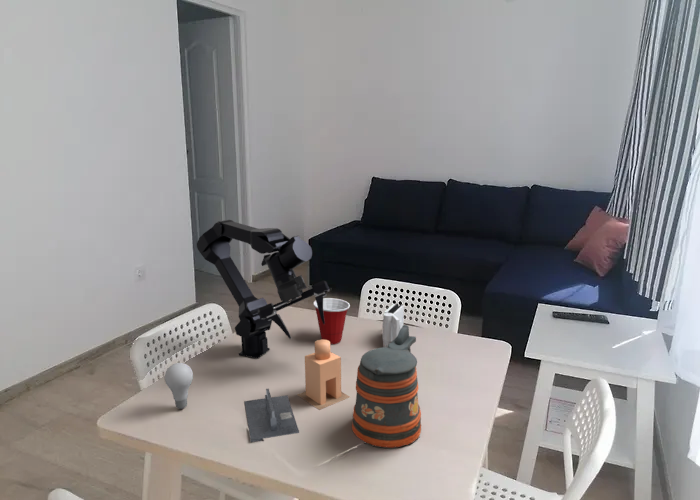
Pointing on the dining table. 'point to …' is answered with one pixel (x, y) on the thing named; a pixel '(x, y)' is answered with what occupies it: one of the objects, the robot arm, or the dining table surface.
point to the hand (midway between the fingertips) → (307, 331)
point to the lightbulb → (179, 382)
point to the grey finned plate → (270, 417)
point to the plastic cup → (332, 319)
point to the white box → (392, 323)
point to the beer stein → (388, 395)
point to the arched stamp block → (322, 373)
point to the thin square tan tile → (329, 400)
